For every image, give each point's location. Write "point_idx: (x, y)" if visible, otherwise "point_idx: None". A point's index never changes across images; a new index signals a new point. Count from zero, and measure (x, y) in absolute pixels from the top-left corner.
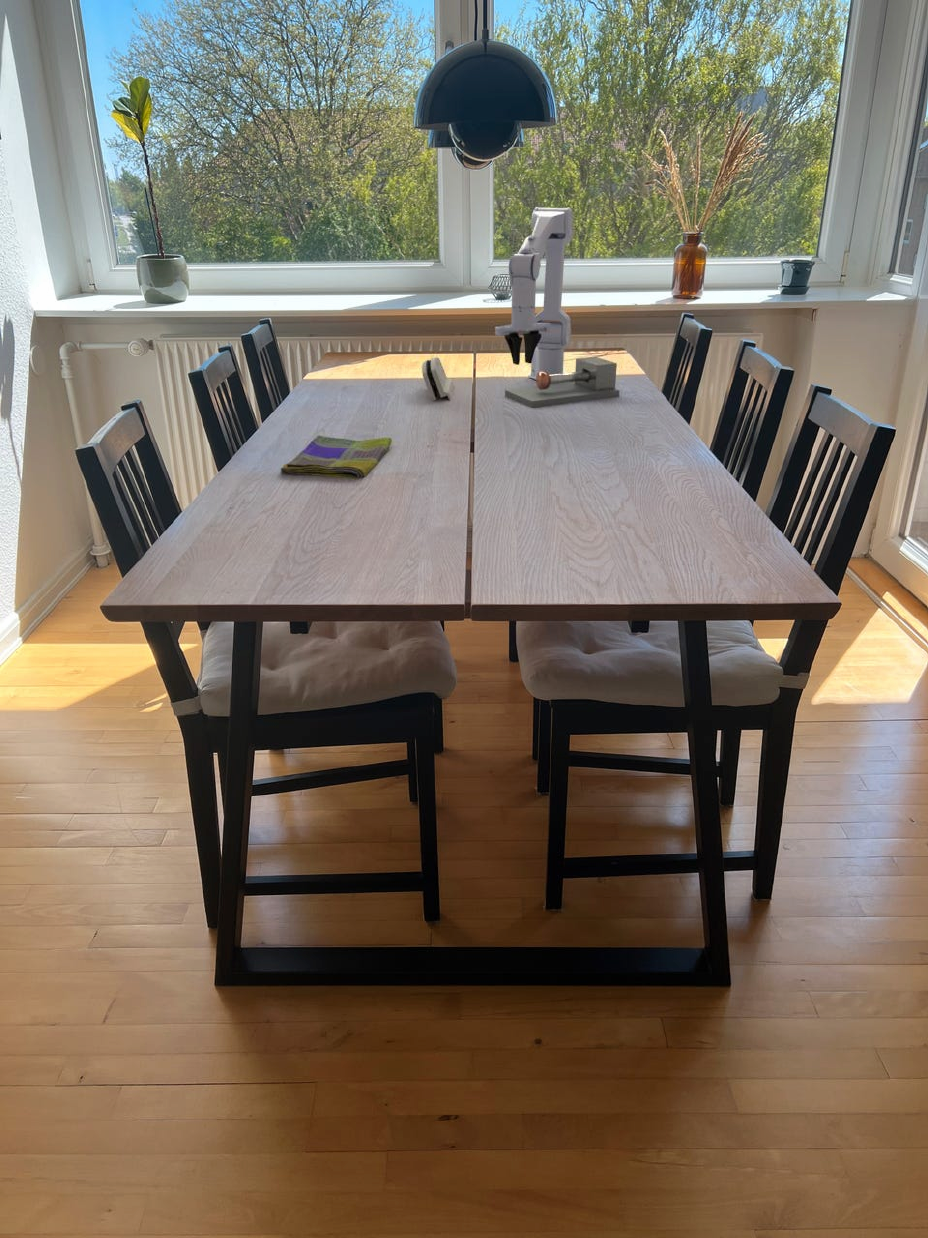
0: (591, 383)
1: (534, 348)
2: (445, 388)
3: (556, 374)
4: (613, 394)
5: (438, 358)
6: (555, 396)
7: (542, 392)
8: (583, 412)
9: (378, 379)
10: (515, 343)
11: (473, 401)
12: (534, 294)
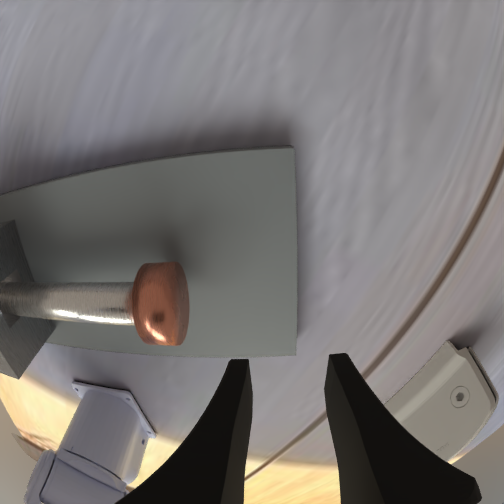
0: (10, 253)
1: (199, 438)
2: (437, 386)
3: (94, 313)
4: None
5: None
6: (151, 192)
7: None
8: (131, 10)
9: None
10: (443, 463)
11: (418, 310)
12: None
